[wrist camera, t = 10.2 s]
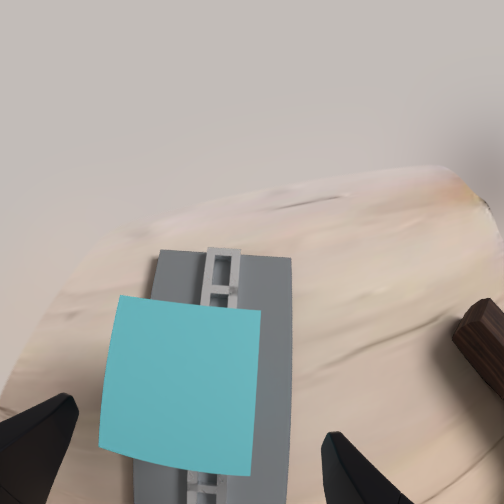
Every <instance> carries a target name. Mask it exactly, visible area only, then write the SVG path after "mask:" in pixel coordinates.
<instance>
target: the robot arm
mask: <svg viewBox="0 0 504 504" xmlns="http://www.w3.org/2000/svg"><path fill="white" fill-rule="evenodd" d="M78 416H79V410H78V407H77V405H76V403H75V400H74V398H73V397H72V396H71V395H69V394H67V393H60V394H58V395H56V396H54V397H52V398H50V399H48V400H46V401H44V402H42V403H40V404H38V405H36V406H34V407H32V408H30V409H28V410H26V411H24V412H22V413H20V414H17V415H15V416H13V417H11V418H9V419H7V420H5V421H2V422H0V504H46V501H47V498H48V495H49V493H50V490H51V487H52V485H53V482H54V480H55V477H56V475H57V472H58V470H59V467H60V465H61V463H62V460H63V458H64V456H65V453H66V451H67V449H68V446H69V443H70V441H71V437H72V434H73V431H74V428H75V425H76V422H77V419H78ZM321 456H322V472H323V486H324V492H325V497H326V502H327V504H414V503H413V502H412V501H410V500H409V499H408V498H407V497H406V496H405V495H404V494H403V493H401V492H400V491H399V490H398V489H397V488H396V487H395V486H394V485H393V484H392V483H391V482H390V481H389V480H388V479H387V478H386V477H385V476H384V475H382V474H381V473H380V472H379V471H378V470H377V469H376V468H375V467H374V466H373V465H372V464H371V463H370V462H369V461H368V460H367V459H366V458H365V457H364V456H363V455H362V454H361V453H360V452H359V451H358V450H357V449H356V447H355V446H354V445H353V444H352V443H351V442H350V441H349V440H348V439H347V438H346V437H345V436H344V435H343V434H342V433H341V432H339V431H336V432H329V433H327V435H326V437H325V439H324V441H323V444H322V446H321Z"/></svg>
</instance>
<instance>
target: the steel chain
mask: <svg viewBox="0 0 504 504" xmlns="http://www.w3.org/2000/svg"><path fill="white" fill-rule="evenodd" d="M240 256H241V249H228V248H212V247H208V249H207V256H206V263H205V271H204V278H203V286H202V294H201V302H200V305H202V306H211V298H212V297H215V298H228V307H227V308H235V309H237V299H238V285H239V270H240ZM216 260H219V261H231V271H230V283H229V286H222V285H213V279H214V271H215V262H216ZM227 476H228V475H223V474H217V483H212V482H203V481H199V472H198V471H191V470H188V474H187V504H198V492H201V493H210V494H217V495H216V504H226V500H227Z"/></svg>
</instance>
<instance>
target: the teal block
mask: <svg viewBox="0 0 504 504" xmlns="http://www.w3.org/2000/svg"><path fill="white" fill-rule="evenodd" d="M260 319H261V311H260V310H247V309H235V308H223V307H212V306H202V305H193V304H184V303H175V302H167V301H159V300H152V299H144V298H137V297H130V296H123V295H120V298H119V302H118V307H117V311H116V316H115V320H114V325H113V330H112V335H111V341H110V346H109V352H108V358H107V364H106V371H105V378H104V386H103V394H102V403H101V414H100V428H99V447H101V448H103V449H106V450H109V451H112V452H115V453H118V454H122V455H125V456H128V457H132V458H135V459H139V460H143V461H147V462H151V463H155V464H160V465H164V466H169V467H174V468H179V469H185V470H191V471H198V472H205V473H214V474H223V475H236V476H250V473H251V460H252V446H253V432H254V417H255V402H256V387H257V371H258V354H259V337H260Z"/></svg>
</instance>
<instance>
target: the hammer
mask: <svg viewBox="0 0 504 504" xmlns="http://www.w3.org/2000/svg"><path fill="white" fill-rule="evenodd" d="M452 341H453V342H454V343H455V344H456V346H457V347H458V348H459V350H460V351H461V352H462V354H463V355H464V356H465V358H466V359H467V360H468V361H469V362H470V363H471V364H472V366H473V367H474V368H475V369H476V370H477V372H478V373H479V374H480V375H481V376H482V378H483V379H484V380H485V381H486V382H487V383H488V384H489V385H490V386H491V387H492V388H493V389H494V390H495V391H496V392H497V393H498V395H499V396H500V397H501V398H502V399H503V400H504V313H503V312H502V310H501V309H500V308H499V307H498V306H497V305H496V304H495V303H494V302H493V301H492V300H491V298H486V299H481V300H479V301H478V302H476V303H475V304H474V305H472V306H471V307H470V308H469V310H468V311H467V312H466V313H465V315H464V317H463V319H462V320H461V322H460V324H459V326H458V328H457V330H456V332H455V334H454V335H453V339H452Z"/></svg>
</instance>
